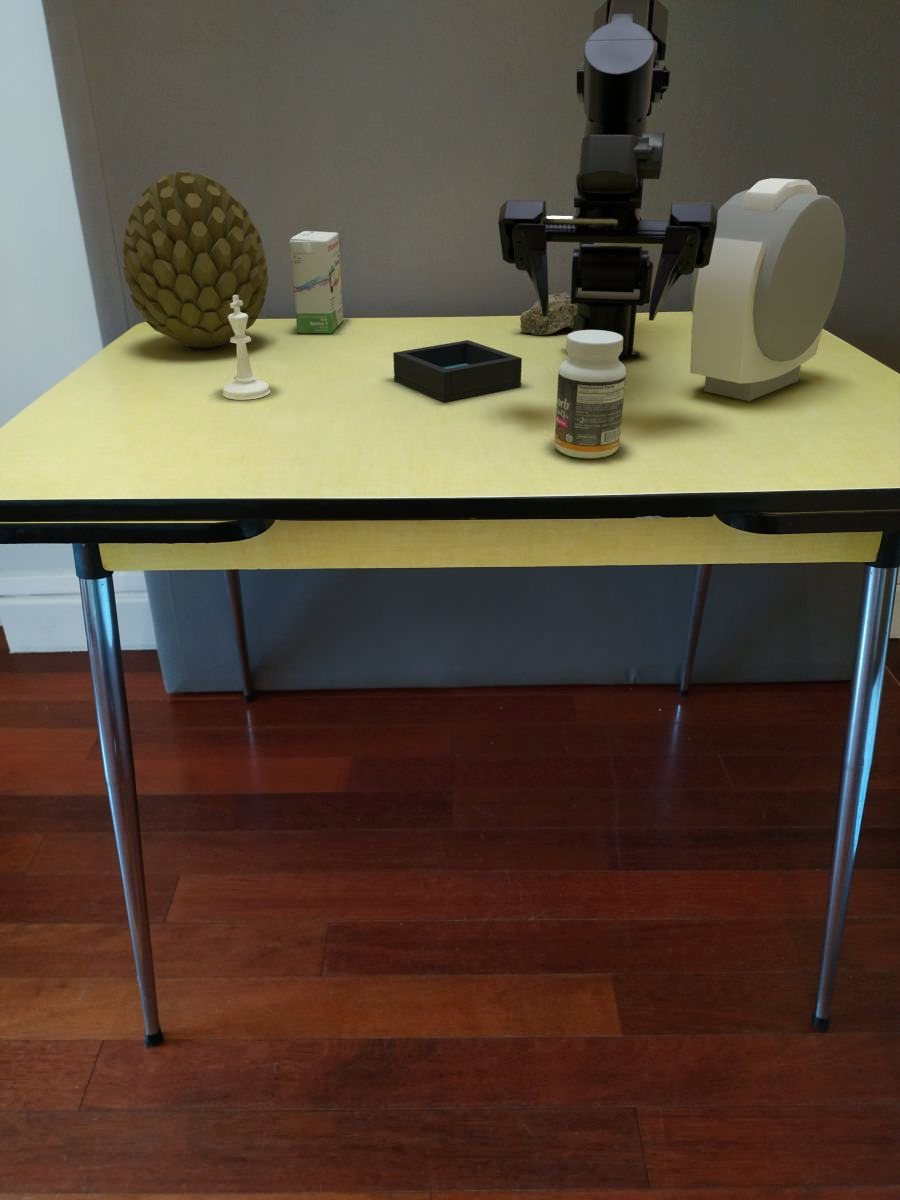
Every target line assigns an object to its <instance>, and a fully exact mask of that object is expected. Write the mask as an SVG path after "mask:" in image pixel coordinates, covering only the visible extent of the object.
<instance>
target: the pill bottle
mask: <svg viewBox="0 0 900 1200" xmlns="http://www.w3.org/2000/svg"><path fill="white" fill-rule="evenodd" d="M565 349H566V353H567V354H568V356H567V359H564V361H562V363H561V364H560V366H559V368H558V375H557V393H556V409H555V410H556V411H555V427H554V445H555V448H556V449H557V451H559V452H560V453H562V454H563V455H565V456H568V457H573V458H577V459H600V458H606V457H608V456H611V455H613V454H614V453H615V452H617V451H618V450H619V446H620V441H621V433H622V420H623V409H624V402H625V401H624V400H625V390H626V377H627V370H626V367H625V365H624V363H622V362H621V361H620V359H618V357H619V355H620V354H621V352H622V351H623V337H622V336H621V335H620V334H617V333H614V332H610V331H602V330H581V331H575V332H573V331H572V332H570V333H568V334H567V336H566V344H565Z"/></svg>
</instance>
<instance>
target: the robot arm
mask: <svg viewBox="0 0 900 1200" xmlns="http://www.w3.org/2000/svg"><path fill="white" fill-rule="evenodd" d="M669 18H670V11H669V9H668V8H666V6H664V5H663V3H661V1H660V0H605V2H604V3H603V4H601V6H599V8H598V9H596V10H595V11H594V13H593V20H592V33H591V34H590V35H589V36H588V38H587V40H586V41H585V42H584V46H583V60H582V61H581V62H580V63H579V65H578V67H577V68H576V96H577V101H578V104H579V105H580V104H583V110H584V111H583V112H584V115H585V117H586V121H585V128H584V137H583V138H581V143H580V144H581V145H580V155H579V156H580V157H579V169H578V172H577V174H576V177H575V185H574V193H573V208H574V209H575V215H547V200H545V199H543V200H542V199H507V200H506V201H505V202H504V203H503V204H502V206H501V207H500V208H499V215H498V220H497V221H498V222H497V223H498V231H499V233H498V234H499V239H500V240H499V241H500V247H501V256H502V260H503V261H504V262H506V263H507V264H510V265H511V264H512V265H515V268H516V269H517V270H518V271H523V272H526V273H527V275H528V278H529V279H530V281H531V283H532V286H533V287H534V290H535V293H536V294H535V295H536V298H537V300H538V301H539V305H540V309H541V313H542V316H543V317H547V314H548V308H549V296H548V295H549V273H548V272H549V269H548V267H549V266H548V253H547V252H548V251H547V250H548V243H579V247H577V248H573V251H572V262H571V282H570V283H571V284H570V285H571V287H570V295H571V304H575V303H578V308H577V314H575V315H574V319H573V328H572V332H575V331H581V330H602V331H610V332H614V333H617V334H620V335H621V336H622V337H623V351H622V352H621V354H620V355H619V357H618V360H623V359H624V360H625V359H632V358H639V357H640V356H641V352H639V351H638V350H635V349H634V343H635V342H634V341H635V329H636V321H637V320H636V319H637V309H638V307H644V305H647V304H649V312H648V321H651V322H652V321H654V320H655V318H656V317H657V314H658V313H659V311H660V309H661V307H662V305H663V303H664V301H665V300H666V297H667V296H668V294H669V293H670V291H671V290H672V288H673V287H674V286H675V285H676V283H677V282H678V281H679V280H680V278H681V277H682V276H688V275H691V274H692V275H693V273H694V268H703V267H705V266H707V265H709V262H710V257H711V252H712V248H713V243H714V238H715V233H716V228H717V216H718V211H719V209H718V208H717V207H716V206H715V205H714V203H713V202H709V201H708V202H707V201H706V202H705V201H671V204H670V211H669V220H649V219H648V220H646V219H645V220H644V219H642V218H641V209H642V203H643V202H642V201H643V190H644V181H645V180H659V179H661V174H662V166H663V155H664V145H665V132H661V131H660V132H659V131H658V132H656V131H655V132H653V131H651V132H650V131H648V129H649V122H648V121H649V120H648V117H650V116H651V115H652V111H653V110H652V109H653V107H652V106H653V104H660V103H661V101H662V100H663V96H664V94H665V92H667V90H668V88H669V86H670V76H671V75H670V74H671V71H670V70H668V69H667V67H666V65H665V60H666V51H667V41H668V30H669ZM646 247H647V248H650V247H651V248H661V252H660V257H659V261H658V264H657V269H656V274H655V279H654V282H653V286H652V281H653V274H654V273H653V272H654V262H653V261H652V260H651V257H650V256H651V255H649V249H643V248H646ZM579 289H581V290H579ZM635 290H639V292H635ZM651 291H652V292H651Z"/></svg>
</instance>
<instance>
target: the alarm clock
mask: <svg viewBox="0 0 900 1200" xmlns="http://www.w3.org/2000/svg"><path fill="white" fill-rule="evenodd" d="M845 256H846V228H845V220H844V216H843V214H842V211H841V207H840V206H839V204H837V202H835V200H834V199H833V198H832V197H830V196H828V195H824V194H818V191H817V187H816V186H814V184H813V183H812V182H810V181H809V180H808V179H797V178H795V179H794V178H777V177H776V178H771V177H770V178H766V179H761V180H758V181H757V182H756V183H755V184H754V185H753V186H752V187H751V188H750V189H745V190H743V191H741V192H737V193H735V194H734V195H732V196H731V197H730V198H729V199H728V200H727V201H726V202H725V203H724V204H723V205H721V206H720V208H719V209H718V216H717V228H716V233H715V238H714V243H713V248H712V252H711V257H710V262H709V265H707V266H705V267H703V268H694V272H693V273H692V279H691V292H690V304H691V313H692V320H691V321H692V322H691V338H690V363H689V364H690V365H689V366H690V367H689V368H690V369H689V373H690V374H694V375H699V376H702V377H705V379H704V387H703V392H706V393H711V394H715V395H720V396H724V397H729V398H731V399H732V398H733V399H736V400H737V399H738V400H742V401H745V402H750V401H752V400H755V399H758V398H760V397H763V396H765V395H768V394H769V393H773V392H775V391H777V390H779V389H782V388H784V387H787V386H789V385H792V384H794V383H797V382H799V377H800V372H801V366H802V365H803V364H805V363H806V362H808V361H809V360H810V359H812V358H814V357H815V356H816V355H817V352H818V349H819V344H820V341H821V338H822V337H821V336H822V333H823V330H824V327H825V325H826V322H827V320H828V317H829V316H830V313H831V312H832V309H833V306H834V304H835V301H836V297H837V294H838V291H839V287H840V283H841V280H842V276H843V271H844V265H845V264H844V262H845Z"/></svg>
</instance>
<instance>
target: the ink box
mask: <svg viewBox="0 0 900 1200" xmlns="http://www.w3.org/2000/svg"><path fill="white" fill-rule="evenodd" d="M339 239H340V237H339V232H335V231H334V232H331V231H318V230H317V231H316V230H304V231H302V232H299V233H298V234H296V235H294V236H292V237H290V240H289V251H290V264H291V274H292V287H293V295H294V296H293V297H294V298H293V299H294V307H295V308H294V310H295V319H296V321H295V322H296V331H297V333H298V334H333V333H334V331H335V330H336V329H337V328H338V327H339V325H341V323H343V321H344V311H343V310H344V309H343V293H342V292H343V291H342V276H341V261H340V260H341V259H340V258H341V257H340V241H339Z"/></svg>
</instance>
